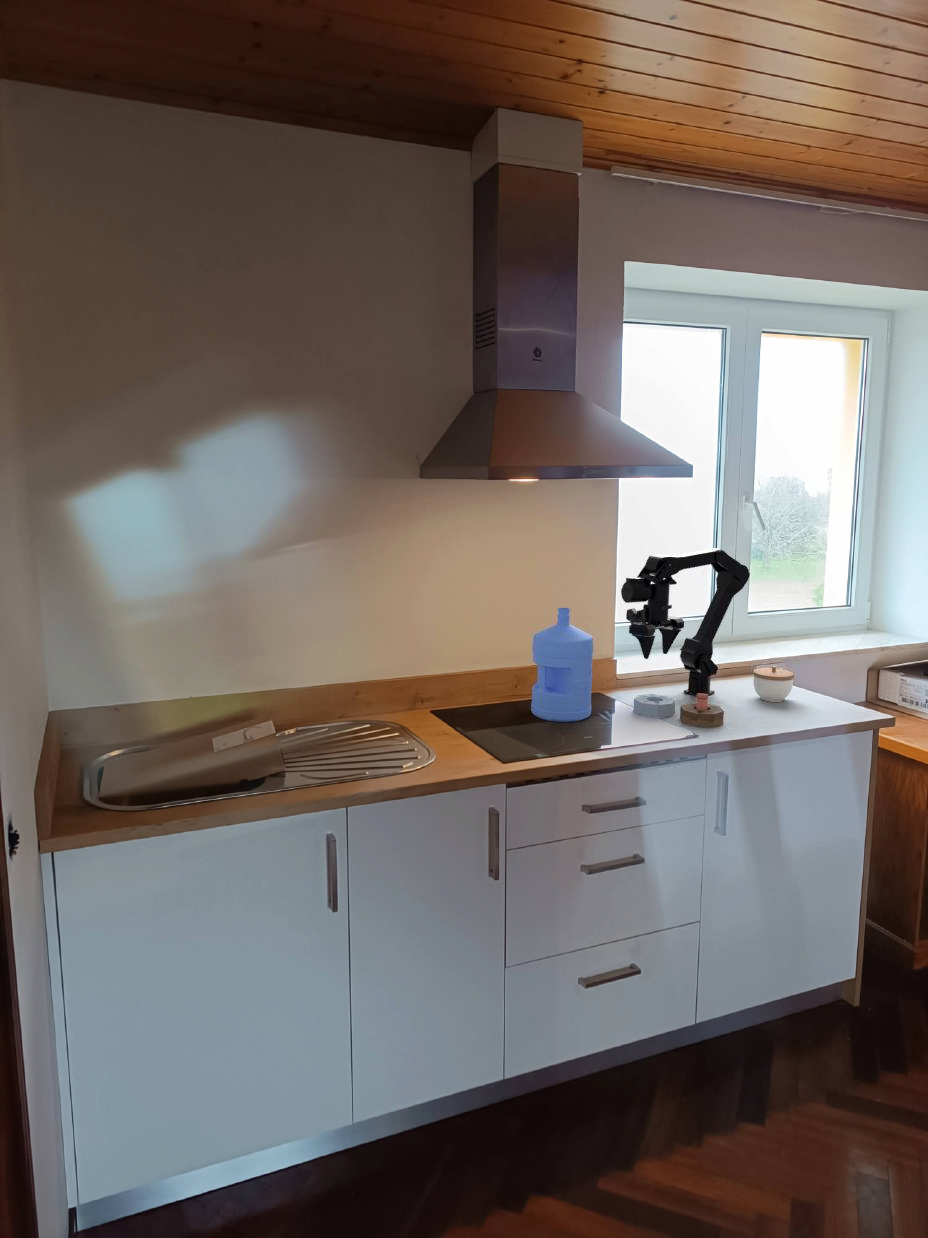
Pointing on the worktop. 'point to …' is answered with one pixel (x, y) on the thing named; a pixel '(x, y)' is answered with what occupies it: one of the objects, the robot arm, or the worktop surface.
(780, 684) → the lidded jar
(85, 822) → the worktop surface
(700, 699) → the pink rounded cylinder
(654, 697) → the blue bead
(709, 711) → the walnut bead
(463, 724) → the worktop surface
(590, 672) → the water jug
